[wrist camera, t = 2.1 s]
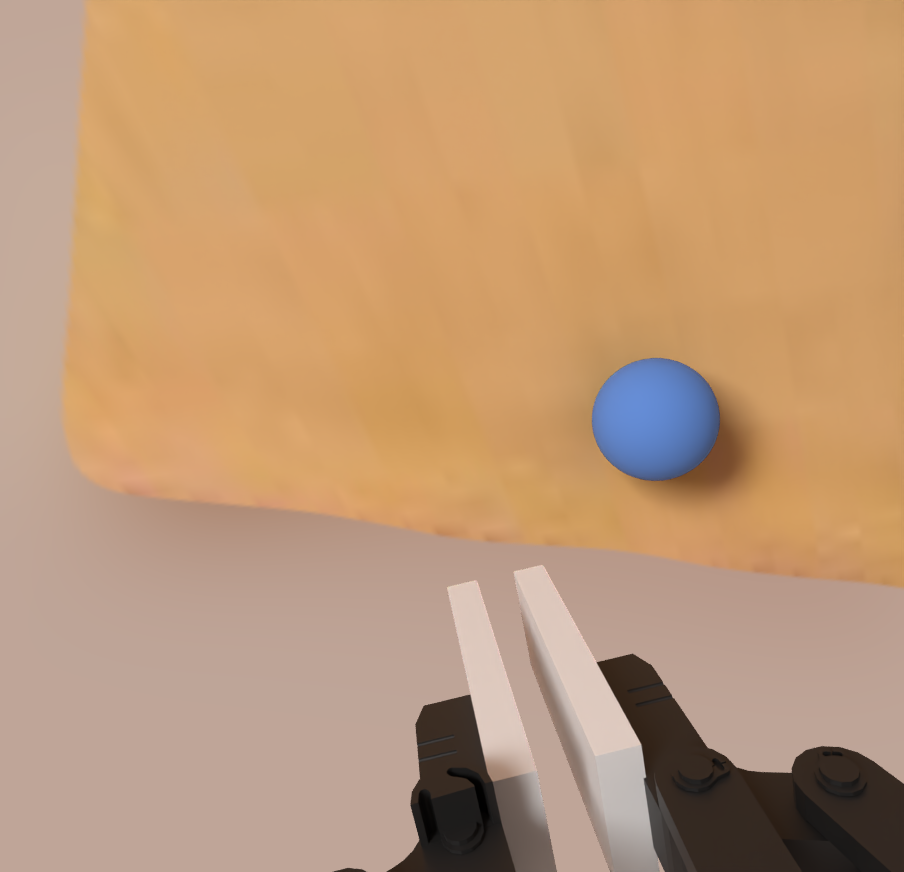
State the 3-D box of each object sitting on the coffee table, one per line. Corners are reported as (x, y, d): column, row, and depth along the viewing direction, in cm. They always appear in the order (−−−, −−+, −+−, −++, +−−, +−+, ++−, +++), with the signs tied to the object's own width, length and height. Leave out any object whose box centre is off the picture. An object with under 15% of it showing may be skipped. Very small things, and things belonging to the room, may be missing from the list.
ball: (680, 339, 33) (738, 355, 28) (691, 447, 34) (749, 482, 29) (569, 363, 33) (607, 384, 27) (585, 471, 34) (624, 510, 29)
